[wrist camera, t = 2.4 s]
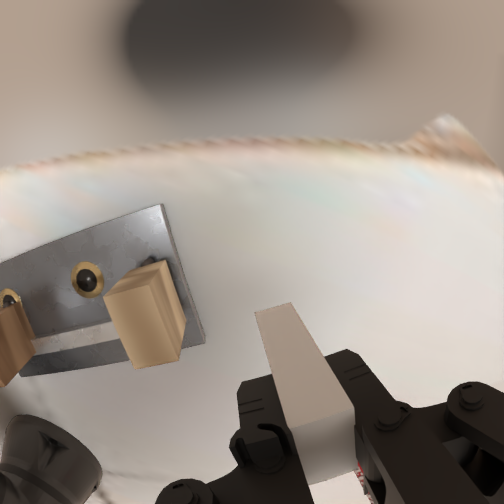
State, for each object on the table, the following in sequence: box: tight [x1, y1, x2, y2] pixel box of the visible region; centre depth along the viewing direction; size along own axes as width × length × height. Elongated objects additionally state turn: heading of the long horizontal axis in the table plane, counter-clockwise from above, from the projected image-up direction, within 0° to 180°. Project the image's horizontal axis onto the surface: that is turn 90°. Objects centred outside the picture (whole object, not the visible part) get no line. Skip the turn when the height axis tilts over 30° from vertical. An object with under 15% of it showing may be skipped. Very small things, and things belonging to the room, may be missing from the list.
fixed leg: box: [0, 301, 36, 387], centre depth 19 cm, size 3×5×7 cm, turn 14°
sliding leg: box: [103, 258, 186, 369], centre depth 20 cm, size 3×5×7 cm, turn 15°
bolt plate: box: [0, 204, 205, 377], centre depth 23 cm, size 22×12×2 cm, turn 105°
